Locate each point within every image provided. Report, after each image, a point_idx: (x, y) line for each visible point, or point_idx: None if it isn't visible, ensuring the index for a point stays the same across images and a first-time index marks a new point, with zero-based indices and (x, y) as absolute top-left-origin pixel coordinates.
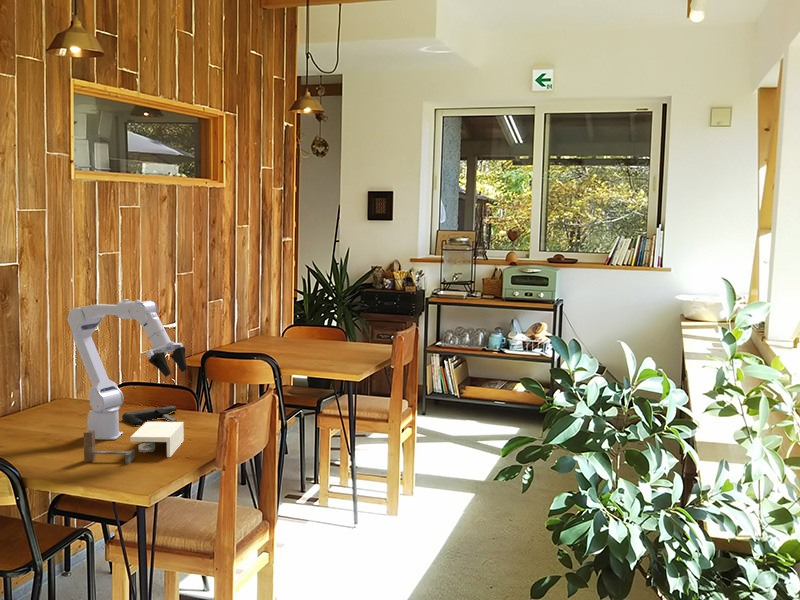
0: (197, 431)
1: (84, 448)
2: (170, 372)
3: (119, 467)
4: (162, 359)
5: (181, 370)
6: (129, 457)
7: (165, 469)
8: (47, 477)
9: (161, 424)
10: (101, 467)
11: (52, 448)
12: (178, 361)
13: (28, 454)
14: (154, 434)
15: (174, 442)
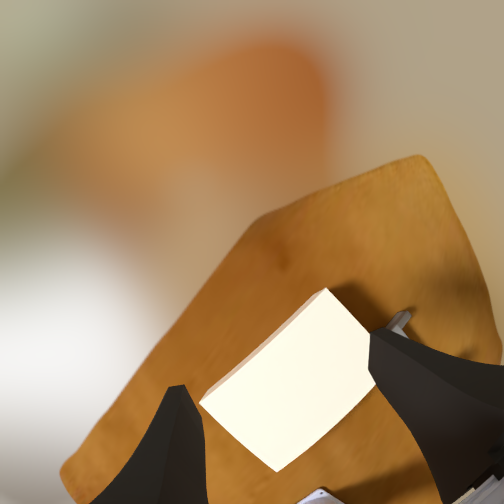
0: (138, 424)
1: None
2: (376, 333)
3: (416, 304)
4: (492, 366)
5: (202, 427)
6: (400, 315)
7: (360, 228)
8: (493, 329)
9: (264, 424)
10: (435, 327)
11: (421, 483)
12: (196, 489)
13: None
14: (341, 343)
15: (284, 325)
